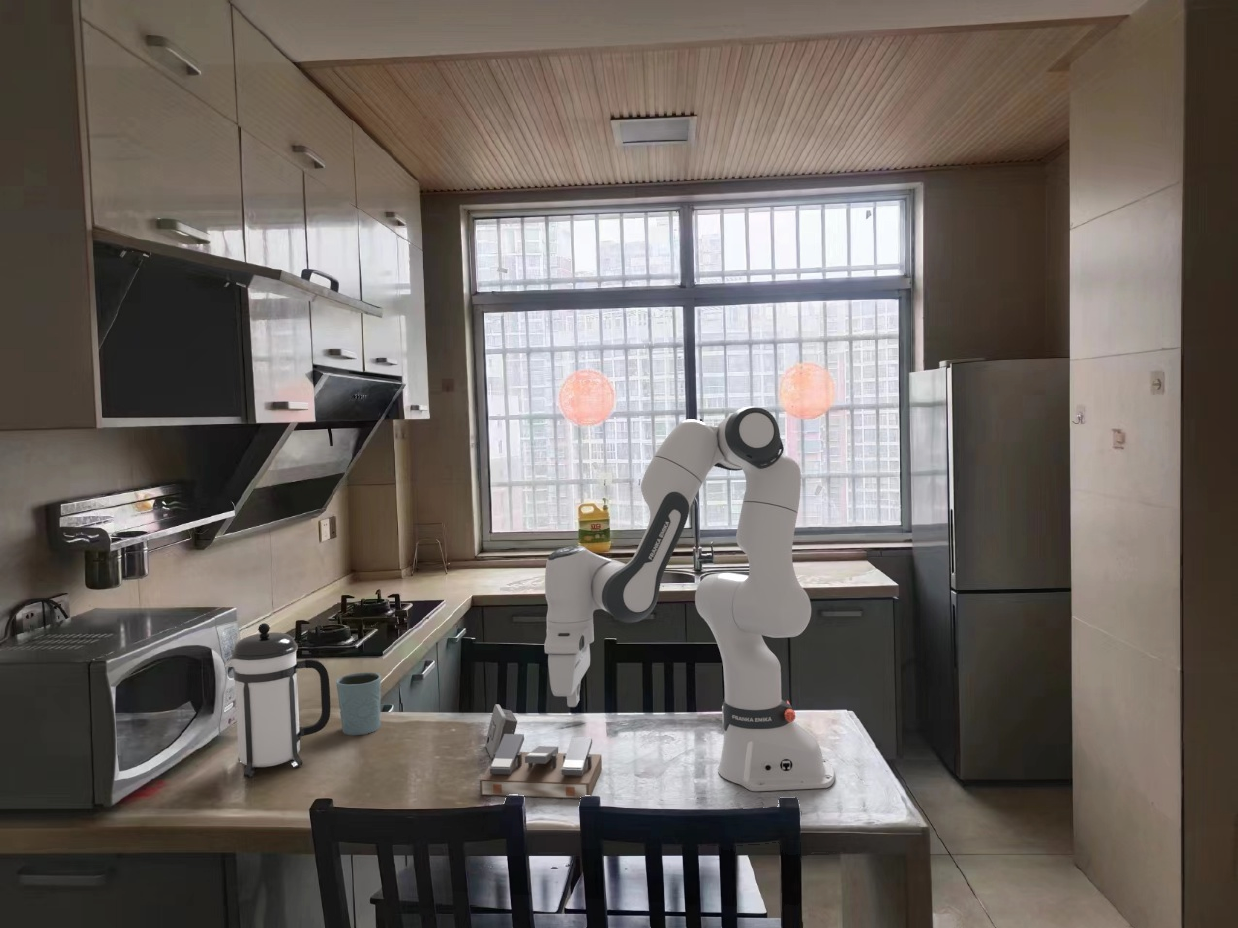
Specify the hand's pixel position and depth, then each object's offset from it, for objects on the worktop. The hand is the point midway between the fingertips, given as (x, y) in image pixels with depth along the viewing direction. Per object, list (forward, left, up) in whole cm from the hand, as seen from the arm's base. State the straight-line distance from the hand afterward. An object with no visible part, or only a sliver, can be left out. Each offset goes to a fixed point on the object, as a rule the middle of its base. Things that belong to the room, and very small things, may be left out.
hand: (573, 704), depth 164 cm
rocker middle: (+7, -3, -11) cm, 14 cm away
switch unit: (+7, -3, -17) cm, 18 cm away
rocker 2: (0, -3, -11) cm, 11 cm away
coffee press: (+66, -8, -17) cm, 69 cm away
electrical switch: (+20, -18, -17) cm, 32 cm away
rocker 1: (+14, -3, -11) cm, 18 cm away
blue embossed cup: (+57, -29, -17) cm, 66 cm away
